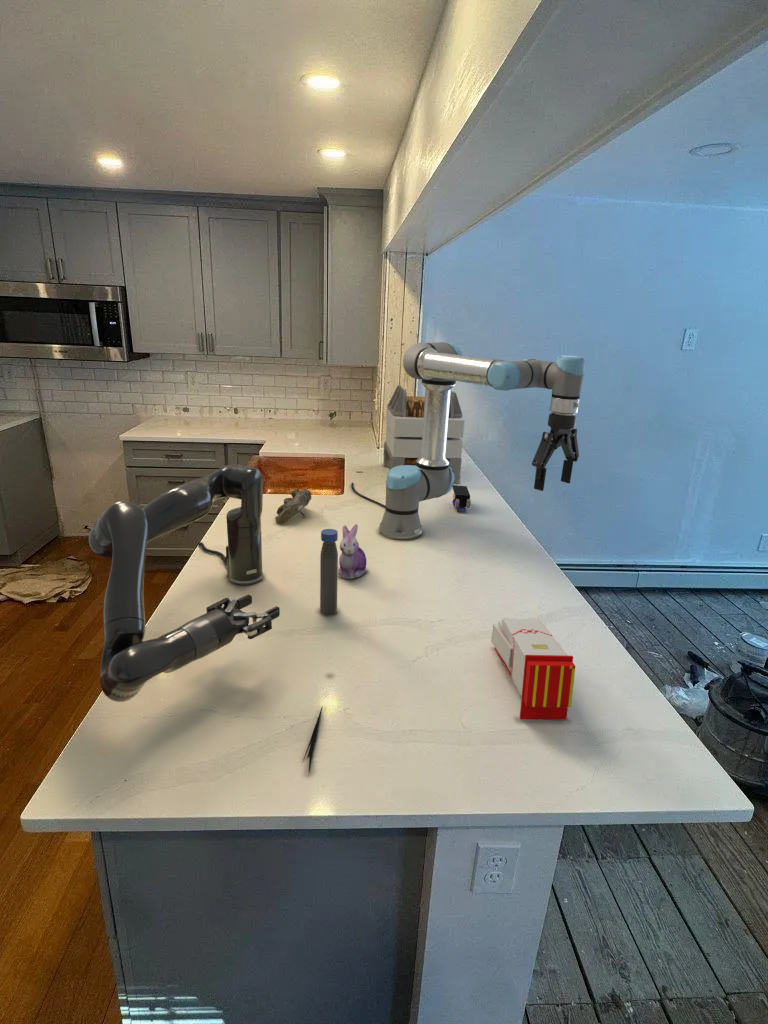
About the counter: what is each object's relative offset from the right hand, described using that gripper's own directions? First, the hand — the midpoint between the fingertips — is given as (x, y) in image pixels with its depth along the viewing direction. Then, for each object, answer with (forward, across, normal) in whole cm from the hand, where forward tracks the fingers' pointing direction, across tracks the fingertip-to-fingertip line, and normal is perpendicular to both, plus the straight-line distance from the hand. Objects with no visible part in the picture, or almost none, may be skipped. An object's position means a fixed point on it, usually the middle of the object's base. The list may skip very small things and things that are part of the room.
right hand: (552, 485), depth 166 cm
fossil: (+28, -35, +84) cm, 95 cm away
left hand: (+16, -88, +12) cm, 90 cm away
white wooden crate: (+28, +46, +101) cm, 115 cm away
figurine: (+28, -47, +33) cm, 64 cm away
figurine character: (+28, +25, +55) cm, 67 cm away
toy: (+28, -48, -30) cm, 63 cm away
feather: (+28, -91, -14) cm, 96 cm away
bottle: (+28, -66, +19) cm, 74 cm away
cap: (+6, -66, +19) cm, 69 cm away
